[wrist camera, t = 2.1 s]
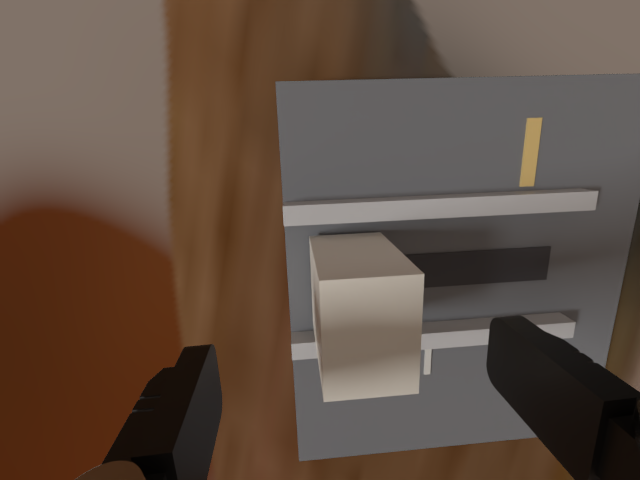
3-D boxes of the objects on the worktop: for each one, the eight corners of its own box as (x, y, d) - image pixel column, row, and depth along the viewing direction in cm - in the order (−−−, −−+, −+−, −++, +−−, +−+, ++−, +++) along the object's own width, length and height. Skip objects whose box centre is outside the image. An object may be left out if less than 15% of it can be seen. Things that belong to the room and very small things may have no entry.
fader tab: (380, 232, 15) (424, 274, 10) (379, 318, 16) (418, 393, 11) (309, 236, 15) (319, 280, 10) (313, 322, 16) (323, 402, 11)
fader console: (613, 83, 17) (692, 67, 14) (559, 400, 22) (607, 446, 18) (277, 90, 16) (274, 76, 12) (297, 425, 20) (299, 479, 17)
